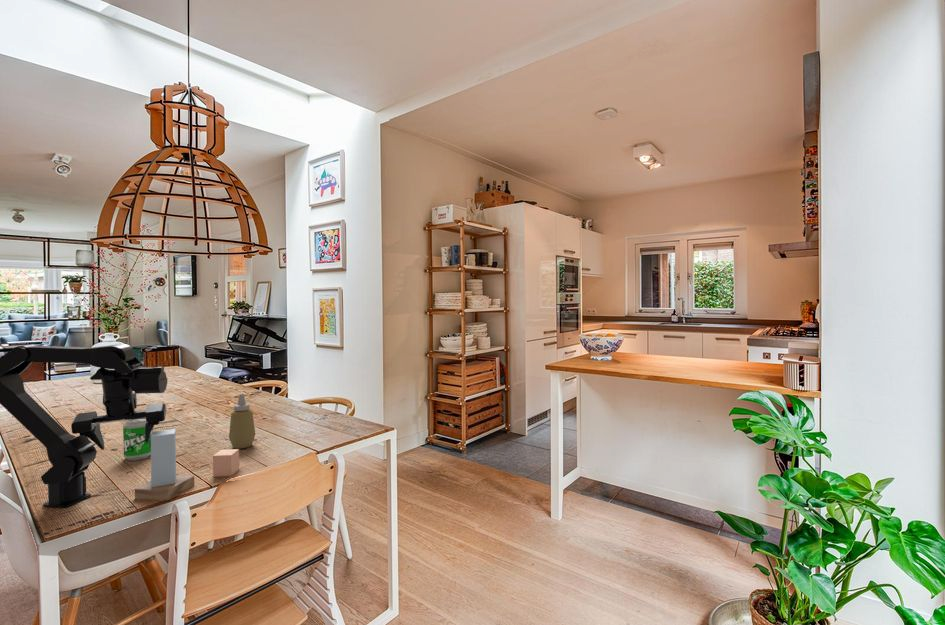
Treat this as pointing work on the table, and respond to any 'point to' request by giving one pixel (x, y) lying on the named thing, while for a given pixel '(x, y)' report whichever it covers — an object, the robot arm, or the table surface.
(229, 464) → the terracotta block
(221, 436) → the table surface
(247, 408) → the squeeze bottle
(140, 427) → the soda can
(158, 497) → the walnut slab
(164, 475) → the blue pillar
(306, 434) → the table surface
